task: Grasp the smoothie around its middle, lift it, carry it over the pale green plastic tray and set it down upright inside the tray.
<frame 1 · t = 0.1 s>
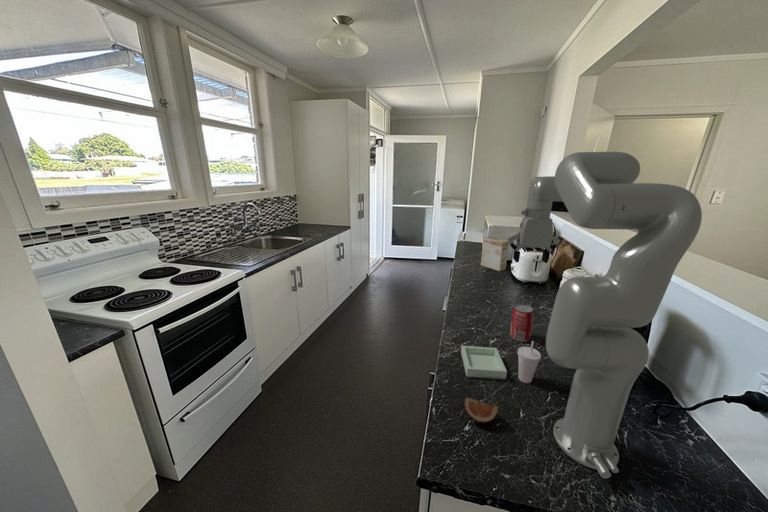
hand: (530, 261, 99), 31 cm above the worktop, fingers open, 9 cm apart
coffeecake box: (492, 267, 187), on the worktop
soda can: (519, 338, 107), on the worktop
fruit slice: (479, 417, 73), on the worktop
smoothie: (524, 379, 86), on the worktop
tray: (481, 365, 92), on the worktop
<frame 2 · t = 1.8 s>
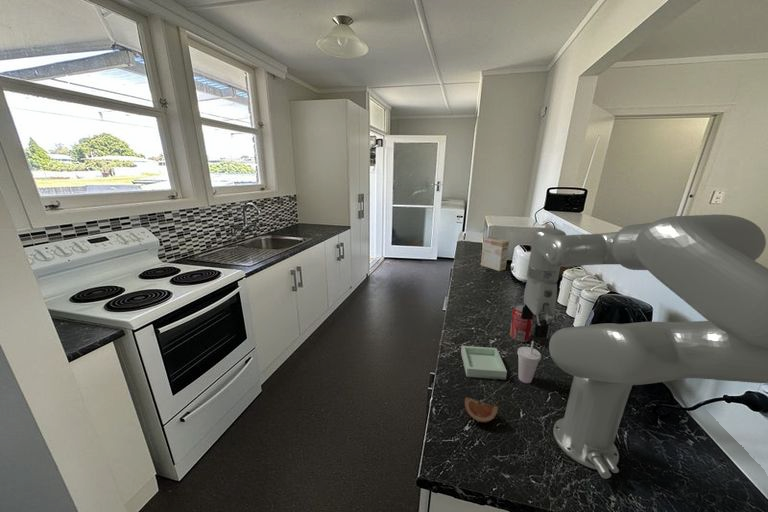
hand: (532, 327, 81), 18 cm above the worktop, fingers open, 9 cm apart
nothing on the worktop moved.
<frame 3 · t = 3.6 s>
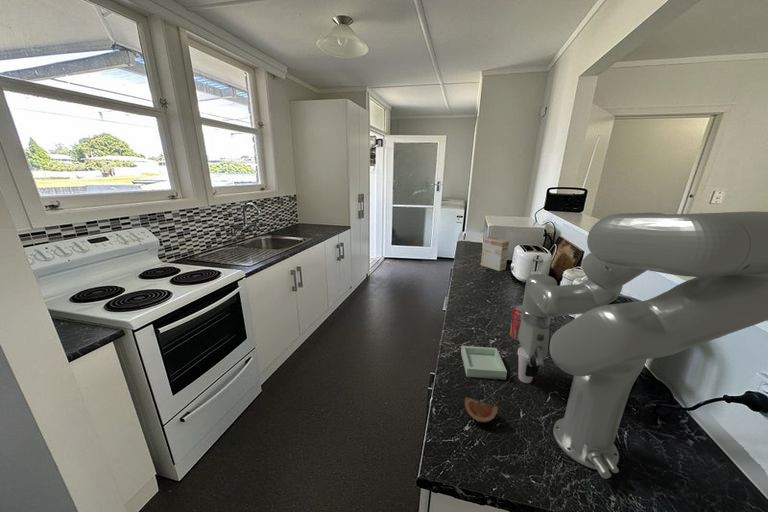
hand: (526, 367, 85), 4 cm above the worktop, fingers closed on smoothie, 6 cm apart
smoothie: (524, 379, 86), on the worktop, touching gripper
everything else where it was.
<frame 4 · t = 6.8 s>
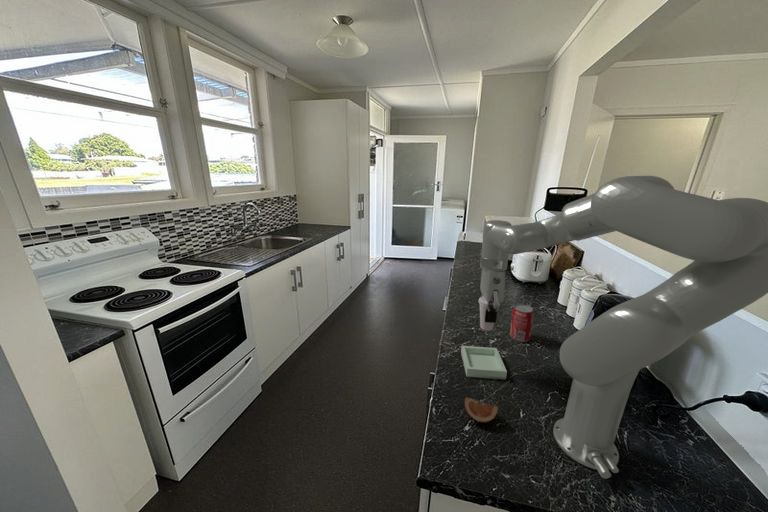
hand: (487, 316, 87), 19 cm above the worktop, fingers closed on smoothie, 6 cm apart
smoothie: (486, 328, 88), point 14 cm above the worktop, touching gripper
everything else where it was.
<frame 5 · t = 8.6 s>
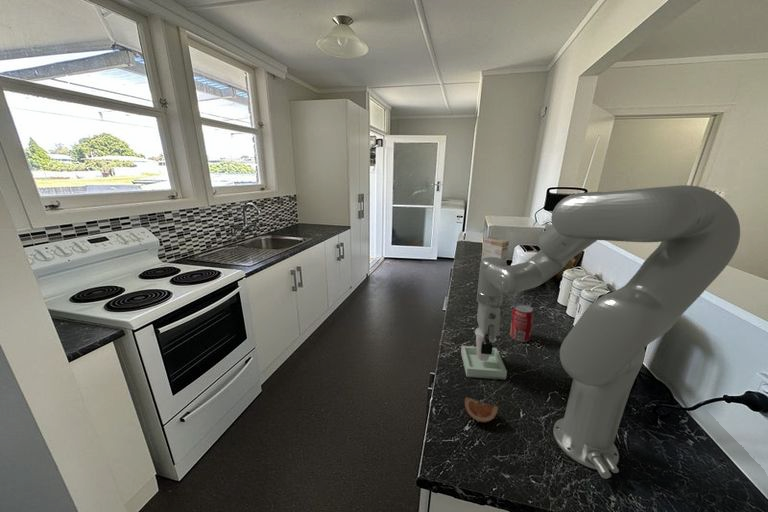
hand: (483, 346, 90), 7 cm above the worktop, fingers closed on smoothie, 6 cm apart
smoothie: (482, 357, 91), point 3 cm above the worktop, touching gripper
everything else where it was.
when the fingers open (6 cm above the worktop, at t = 9.9 s): smoothie stays where it is, resting on tray.
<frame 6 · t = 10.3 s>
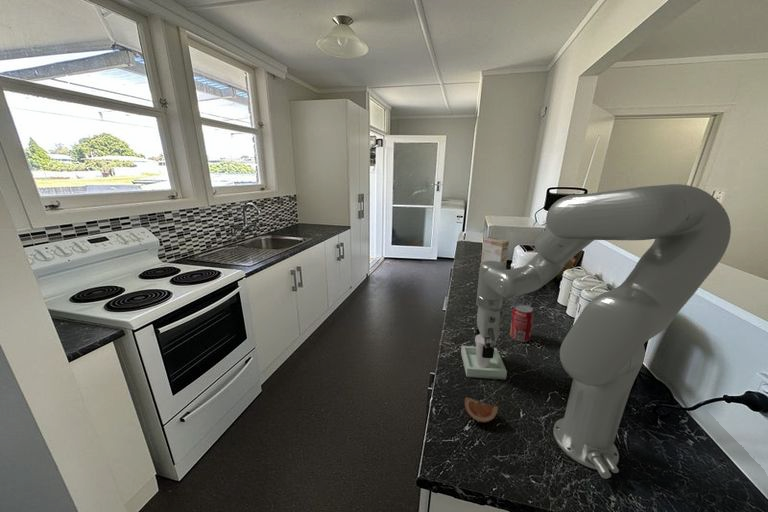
hand: (483, 347, 90), 7 cm above the worktop, fingers open, 9 cm apart
smoothie: (482, 364, 91), point 1 cm above the worktop, touching tray
everything else where it was.
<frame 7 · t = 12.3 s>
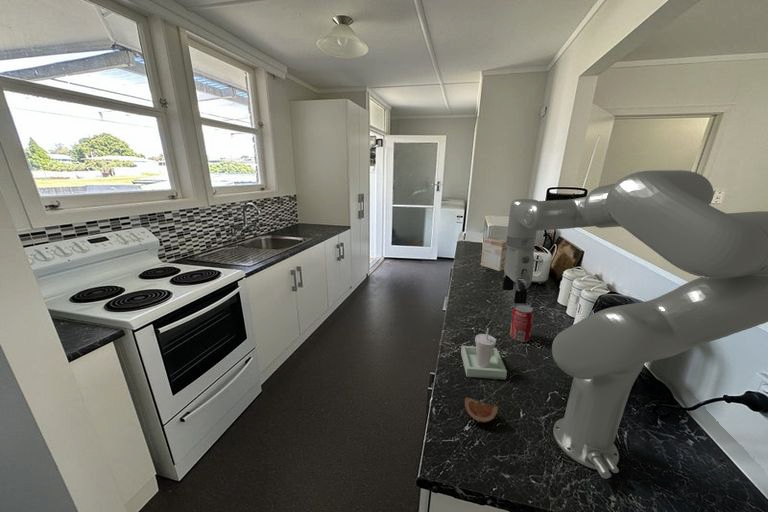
hand: (513, 296, 85), 25 cm above the worktop, fingers open, 9 cm apart
nothing on the worktop moved.
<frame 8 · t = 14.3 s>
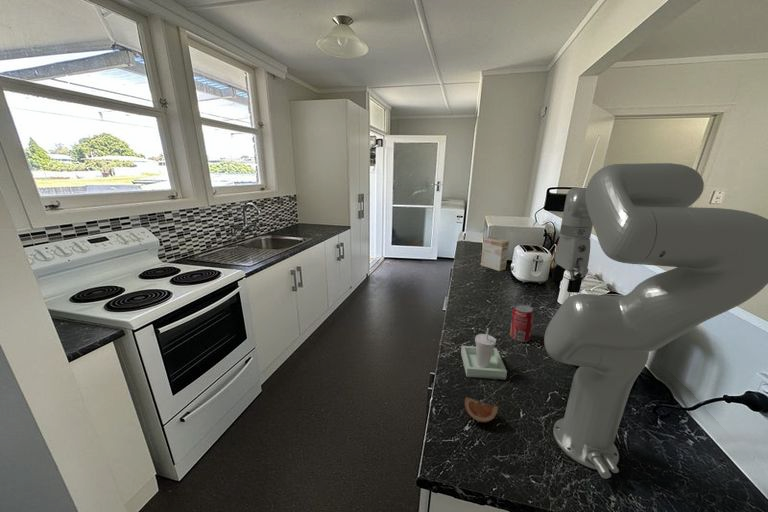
hand: (564, 285, 85), 28 cm above the worktop, fingers open, 9 cm apart
nothing on the worktop moved.
at the end: smoothie inside the target area on the tray (0.4 cm from its centre), point 0.6 cm above the tray's base; smoothie tilted 0°; the gripper is holding nothing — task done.
